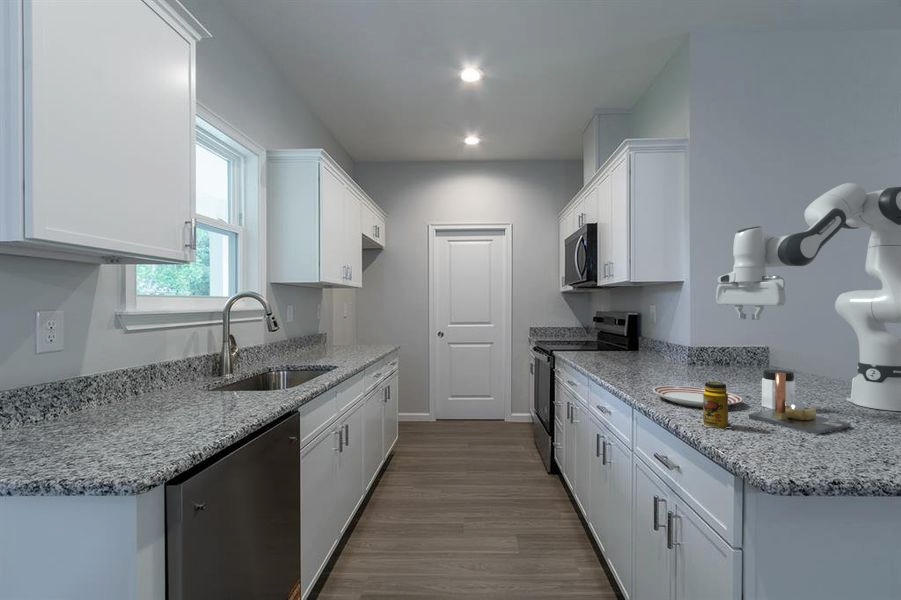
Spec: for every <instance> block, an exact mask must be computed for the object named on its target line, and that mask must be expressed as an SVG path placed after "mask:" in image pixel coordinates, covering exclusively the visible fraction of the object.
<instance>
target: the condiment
mask: <svg viewBox="0 0 901 600" xmlns="http://www.w3.org/2000/svg"><path fill="white" fill-rule="evenodd" d="M704 388H705V391H704V393H703V407H702V409H703V411H702V412H703V414H702V417H703V418H702V419H701V418H700V425H702V424H703V423H704V425H706V426H703V427H706V428H711V427H715V428H714V429H721V428H725V429H724V430H727V429H726V427H730V426H731V428H732V425H731V422H730V421H729V405H728V394H727V393H728V392H727V384H726V383H724V382H719V381H707V382H705V383H704ZM726 392H727V393H726ZM708 426H709V427H708ZM732 429H733V428H732ZM721 430H722V429H721Z"/></svg>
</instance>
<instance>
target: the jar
mask: <svg viewBox="0 0 901 600" xmlns="http://www.w3.org/2000/svg"><path fill="white" fill-rule="evenodd" d="M775 373H785V374H786V404H789V403H796V380H795V373H794V372H793V371H790V370H785V369H763V371H762V374H763V377H762V378H761V406H762V407H764V408H767V409H770V410H775Z"/></svg>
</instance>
